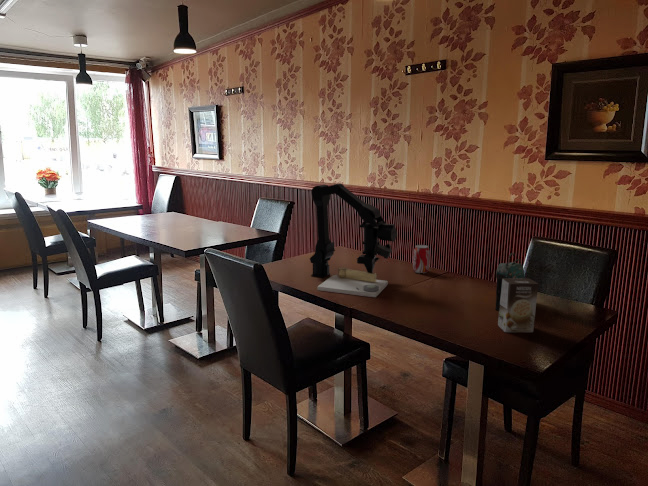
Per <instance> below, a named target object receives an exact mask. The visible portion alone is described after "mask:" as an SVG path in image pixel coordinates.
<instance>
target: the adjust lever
mask: <svg viewBox="0 0 648 486" xmlns="http://www.w3.org/2000/svg"><path fill="white" fill-rule="evenodd" d="M337 269H338V271H337V272H338V273H337V274H338V277H339V278H350V279H356V280H362V281H368V282H376V280H377V272H373V273H371V272H367V271H364V270H356V269H351V268H347V267H339V268H337Z"/></svg>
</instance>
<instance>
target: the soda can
mask: <svg viewBox="0 0 648 486" xmlns="http://www.w3.org/2000/svg"><path fill="white" fill-rule="evenodd" d="M414 246H415V247H414V249H413V258H412V261H413V262H412V269H413V272H414V273H416V274H420V273H423V274H427V273H428V272H429V270H430V257H431V255H430V251H431V250H430V248H429V245H425V244H417V245H414Z"/></svg>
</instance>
